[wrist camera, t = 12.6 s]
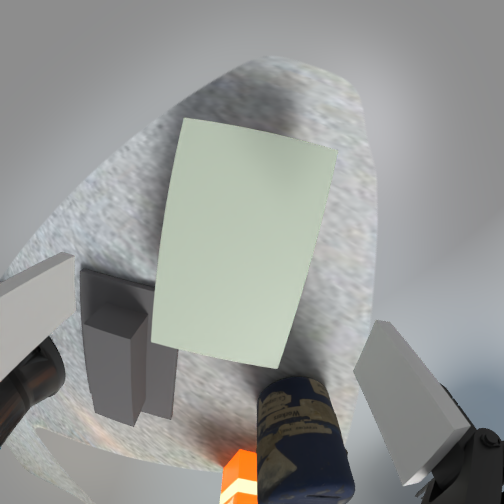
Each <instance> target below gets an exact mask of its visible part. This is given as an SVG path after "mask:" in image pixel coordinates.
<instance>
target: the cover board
mask: <svg viewBox="0 0 504 504" xmlns="http://www.w3.org/2000/svg"><path fill="white" fill-rule="evenodd" d="M337 154H338V150H334V149H331V148H327V147H324V146H320V145H317V144H313V143H310V142H306V141H302V140H298V139H294V138H290V137H286V136H282V135H278V134H273V133H269V132H264V131H259V130H255V129H250V128H245V127H240V126H234V125H229V124H223V123H217V122H211V121H205V120H198V119H191V118H184V119H183V123H182V128H181V132H180V136H179V141H178V145H177V150H176V155H175V159H174V164H173V169H172V174H171V180H170V185H169V191H168V196H167V202H166V208H165V214H164V221H163V227H162V234H161V241H160V249H159V257H158V265H157V274H156V283H155V294H154V305H153V318H152V333H151V342H153V343H157V344H160V345H164V346H168V347H172V348H175V349H179V350H184V351H188V352H192V353H196V354H201V355H205V356H210V357H214V358H219V359H224V360H229V361H234V362H239V363H245V364H250V365H256V366H262V367H268V368H275V369H278V366H279V363H280V360H281V357H282V354H283V351H284V348H285V345H286V342H287V339H288V336H289V333H290V330H291V327H292V323H293V320H294V317H295V314H296V311H297V307H298V304H299V301H300V297H301V294H302V291H303V287H304V284H305V280H306V277H307V274H308V270H309V266H310V263H311V259H312V256H313V252H314V248H315V245H316V241H317V237H318V233H319V230H320V226H321V222H322V218H323V214H324V210H325V206H326V202H327V198H328V194H329V189H330V185H331V181H332V177H333V172H334V168H335V163H336V159H337Z"/></svg>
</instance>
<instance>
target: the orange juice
mask: <svg viewBox="0 0 504 504" xmlns="http://www.w3.org/2000/svg"><path fill="white" fill-rule="evenodd" d="M220 504H258V502H257V453H254V452H249V451H245V450H241V449H240V450H239V451H238V452H237V453H236V454H235V456H234V457H233V458H232V459H231V460H230V462H229V463H228V464H227V465H226V466H225V467H224V469H223V479H222V490H221V496H220Z"/></svg>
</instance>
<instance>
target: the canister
mask: <svg viewBox="0 0 504 504" xmlns="http://www.w3.org/2000/svg"><path fill="white" fill-rule="evenodd" d="M256 453H257V502H258V504H346V503H347V502H348V501H349V500H350V499H351V498H352V497H353V495H354V492H355V483H354V480H353V476H352V473H351V470H350V466H349V462H348V459H347V454H348V452H347V450H346V449H345V447H344V444H343V439H342V435H341V431H340V428H339V424H338V421H337V417H336V414H335V412H334V410H333V407H332V404H331V401H330V398H329V394H328V392H327V390H326V388H325V387H324V386H323V385H322V384H321V383H320V382H318V381H316V380H313V379H310V378H306V377H290V378H285V379H282V380H279V381H277V382H275V383H273V384H271V385H270V386H268V387H267V388H266V389H265V390H264V391H263V392H262V394H261V395H260V397H259V399H258V402H257V449H256Z"/></svg>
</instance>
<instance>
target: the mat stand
mask: <svg viewBox="0 0 504 504" xmlns="http://www.w3.org/2000/svg"><path fill="white" fill-rule="evenodd" d="M154 294H155V288H154V287H150V286H146V285H142V284H138V283H135V282H131V281H127V280H123V279H120V278H116V277H112V276H109V275H105V274H102V273H98V272H95V271H91V270H88V269H83V270H81V271H80V302H81V321H82V334H83V345H84V354H85V363H86V370H87V377H88V383H89V389H90V393H91V394H92V399H93V405H94V410H95V413H97V414H100V415H102V416H105V417H107V418H110V419H113V420H115V421H118V422H121V423H124V424H127V425H130V426H133V427H134V425H135V423H136V421H137V418H138V416H139V414H140V412H141V411H142V412H145V413H148V414H152V415H155V416H159V417H162V418H166V419H170V420H171V418H172V414H173V401H174V389H175V378H176V368H177V358H178V349H175V348H172V347H168V346H164V345H160V344H157V343H153V342H151V333H152V318H153V305H154Z"/></svg>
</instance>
